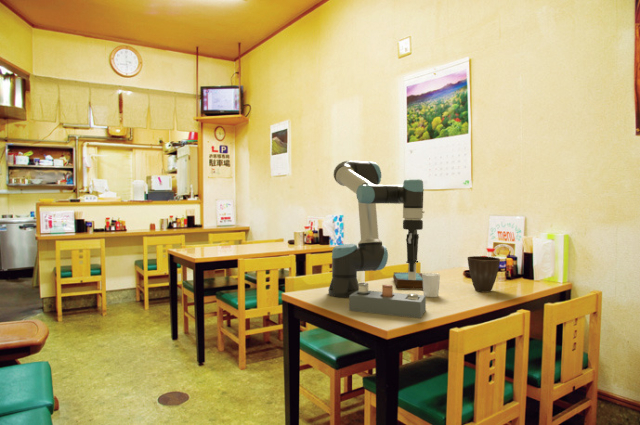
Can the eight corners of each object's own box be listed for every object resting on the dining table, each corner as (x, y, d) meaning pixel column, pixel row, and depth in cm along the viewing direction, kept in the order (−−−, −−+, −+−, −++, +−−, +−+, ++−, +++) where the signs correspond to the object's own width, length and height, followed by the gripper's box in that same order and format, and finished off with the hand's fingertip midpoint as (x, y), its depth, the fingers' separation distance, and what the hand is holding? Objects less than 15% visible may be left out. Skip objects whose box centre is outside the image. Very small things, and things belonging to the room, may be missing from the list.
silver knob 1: (357, 297, 163) (357, 284, 163) (360, 295, 167) (360, 282, 167) (366, 298, 161) (366, 284, 161) (369, 296, 165) (369, 283, 165)
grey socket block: (349, 310, 160) (349, 295, 160) (358, 303, 171) (358, 289, 171) (420, 318, 149) (420, 302, 149) (425, 310, 160) (425, 295, 160)
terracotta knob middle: (381, 299, 159) (381, 286, 159) (383, 297, 163) (383, 284, 163) (391, 300, 157) (391, 286, 157) (393, 298, 161) (393, 285, 161)
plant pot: (504, 290, 198) (504, 257, 198) (493, 295, 187) (493, 261, 187) (474, 286, 208) (474, 255, 208) (462, 290, 197) (462, 258, 197)
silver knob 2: (406, 309, 155) (406, 295, 155) (408, 307, 159) (408, 293, 159) (416, 310, 153) (417, 296, 153) (418, 308, 157) (418, 294, 157)
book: (432, 290, 200) (432, 280, 200) (396, 289, 202) (396, 279, 202) (425, 281, 223) (425, 272, 223) (393, 281, 225) (393, 272, 225)
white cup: (440, 298, 182) (440, 276, 182) (422, 297, 183) (422, 275, 183) (439, 294, 189) (439, 273, 189) (421, 293, 191) (421, 272, 191)
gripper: (419, 220, 148) (418, 283, 149) (425, 218, 160) (424, 277, 161) (399, 219, 151) (398, 281, 152) (406, 218, 163) (405, 275, 164)
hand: (412, 279), depth 156 cm, fingers closed
